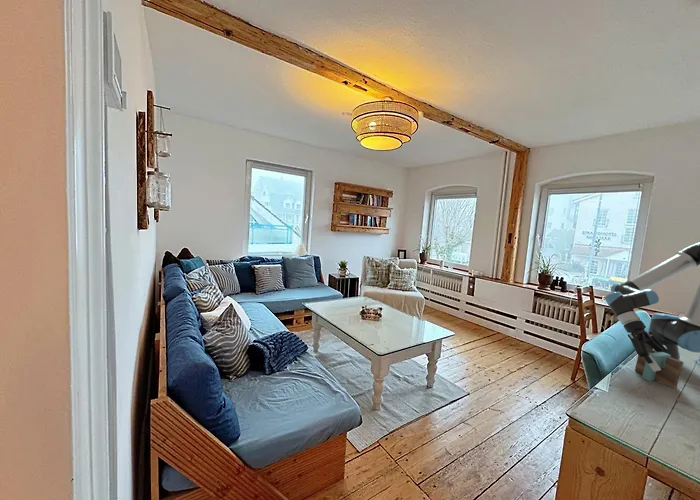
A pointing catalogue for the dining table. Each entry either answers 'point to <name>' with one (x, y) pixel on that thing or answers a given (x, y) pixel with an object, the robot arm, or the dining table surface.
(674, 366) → the walnut slotted board
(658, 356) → the teal slotted plate
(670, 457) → the dining table surface
